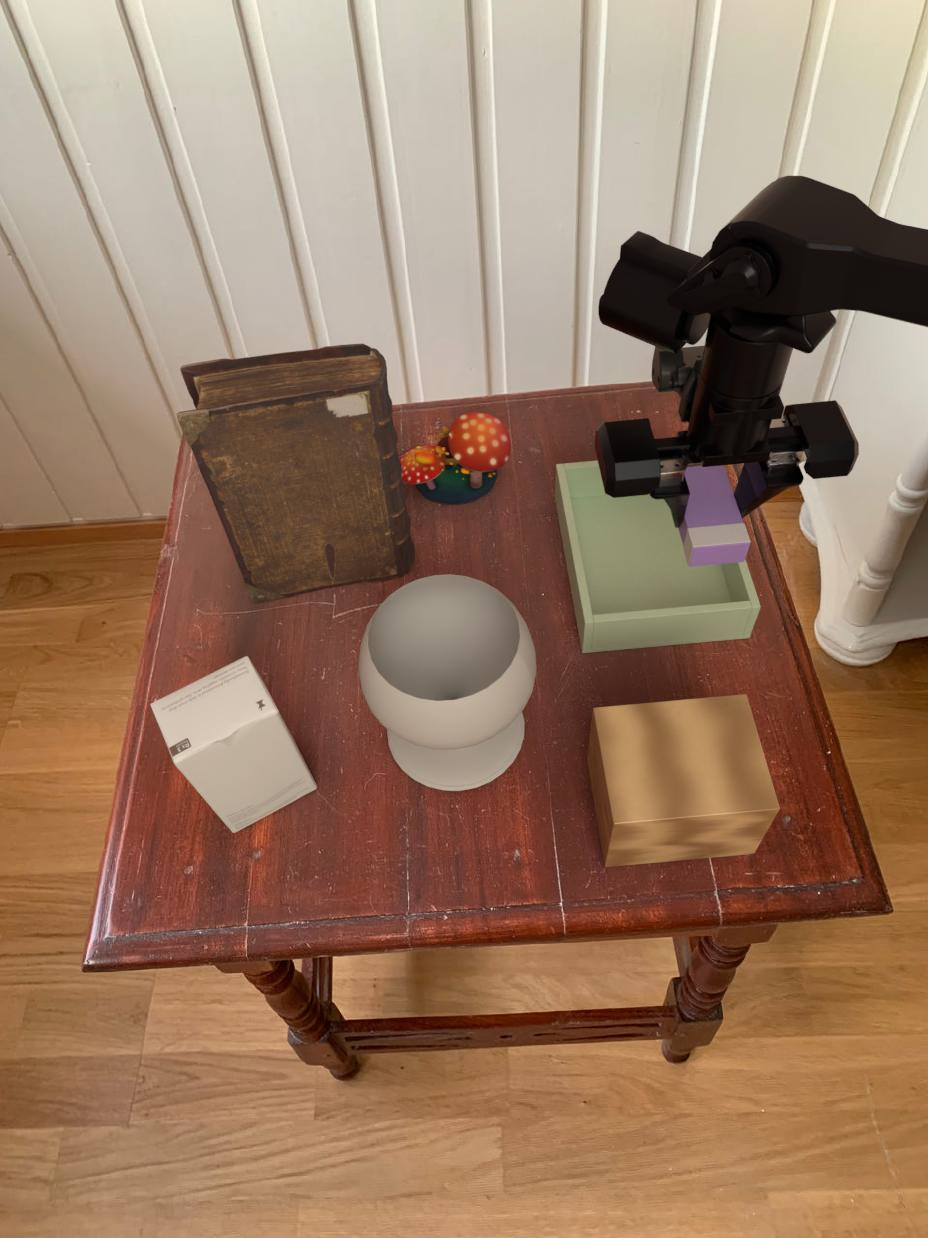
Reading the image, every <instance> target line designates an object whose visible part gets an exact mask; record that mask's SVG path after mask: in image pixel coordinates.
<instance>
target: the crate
mask: <svg viewBox="0 0 928 1238" xmlns="http://www.w3.org/2000/svg"><path fill="white" fill-rule="evenodd" d="M586 763H587V770H588V775H589V782H590V787H591V793H592V800H593V805H594V811H595V812H594V813H595V818H596V824H597V831H598V835H599V841H600V847H601V853H602V860H603V866H604V867H605V868H612V867H613V868H614V867H624V866H634V865H643V864H644V865H645V864H657V863H668V862H669V863H670V862H679V861H691V860H701V859H711V858H713V859H714V858H723V857H724V858H725V857H735V856H745V855H754V854H755V853H756V851H757V850H758V848H759V847H760V844H761V843H762V841H763V839H764V838H765V836H766V835H767V832H768V830H769V829H770V827H771V825H772V824H773V822H774V821H775V819H776V817H777V815H778V814H779V812H780V810H781V807H780V803H779V800H778V797H777V793H776V790H775V787H774V783H773V779H772V776H771V773H770V770H769V766H768V763H767V760H766V756H765V752H764V749H763V746H762V743H761V739H760V735H759V732H758V728H757V725H756V722H755V719H754V714H753V711H752V708H751V704H750V701H749V697H748V694H747V693H742V694H731V695H730V694H729V695H719V696H710V697H709V696H708V697H698V698H686V699H674V700H665V701H653V702H643V703H630V704H620V705H619V704H618V705H609V706H599V707H593V708H592V714H591V722H590V731H589V738H588V746H587V755H586Z"/></svg>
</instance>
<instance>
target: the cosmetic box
mask: <svg viewBox="0 0 928 1238" xmlns="http://www.w3.org/2000/svg"><path fill="white" fill-rule="evenodd" d="M149 705H150V707H151V710H152V712H153V715H154V718H155V720H156V722H157V725H158V728H159V730H160V732H161V735H162V737H163V740H164V742H165V745H166V747H167V750H168V752H169V754H170V757H171V760H172V762H173V764H174V766H175V767H176V768H177V769H178V770H179V772H180V773H181V774H182V775H183V776H184V777H185V779H186V780H187V781H188V782H189V784H190V785H191V786H192V787H193V788H194V789H195V790H196V791H197V793H198V794H199V795H200V797H202V799H203V800H204V801H205V803H206V804H208V806H209V807H210V808H211V809H212V810H213V812H214V813H215V814H216V816H218V817H219V819H220V820H221V821H222V823H224V825H225V826H226V827H227V828H228V830H230V832H231V833H232V834H235V833H238V832H240V831H241V830H243V829H245V828H248V827H249V826H251V825H253V824H254V823H257V822H258V821H260V820H262V819H264V818H266V817H268V816H270V815H271V814H273V813H275V812H277V811H278V810H281V809H283V808H284V807H287V806H289V805H290V804H292V803H294V802H295V801H297V800H299V799H301V798H302V797H304V796H306V795H307V794H309V793H312V792H314V791H315V790H316V791H317V789H318V786H317V782H316V781H315V779H314V777H313V775H312V773H311V770H310V768H309V767H308V764H307V763H306V760H305V759H304V756H303V755H302V753H301V751H300V748H299V746H298V745H297V743H296V741H295V738H294V737H293V735H292V733H291V731H290V729H289V728H288V726H287V723H286V722H285V720H284V719H283V716H282V715H281V712H280V711H279V709H278V707H277V705H276V702H275V700H274V699H273V697H272V695H271V693H270V691H269V689H268V687H267V685H266V683H265V682H264V680H263V678H262V677H261V675H260V673H259V672H258V671H257V669H256V667H255V665H254V664H253V662H252V660H251V659H250V657H249V656H248V655H245V656H243V657H241V658H238V659H237V660H235V661H233V662H231V663H229V664H227V665H225V666H223V667H221V668H219V669H217V670H215V671H213V672H211V673H209V674H207V675H205V676H203V677H201V678H199V679H197V680H195V681H193V682H191V683H189V684H186V685H185V686H183V687H181V688H179V689H177V690H175V691H173V692H171V693H169V694H167V695H165V696H163V697H161V698H159V699H157V700H155V701H153V702H151V703H150V704H149Z"/></svg>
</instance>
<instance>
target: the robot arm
mask: <svg viewBox="0 0 928 1238" xmlns="http://www.w3.org/2000/svg"><path fill="white" fill-rule="evenodd" d="M619 249H620V250H619V259H617V262H616V263H615V265H614V266H613V268H612V271H611V273H610V274H609V276H608V278H607V281H606V285H605V287H604V290H603V294H601V295H600V297H599V300H598V309H597V310H598V318H599V321H600V323H601V324H602V325H603V326H606V327H608V328H611V329H613V330H615V331H618V332H619V333H623V334H625V335H627V336H630V337H632V338H635V339H637V340H638V341H642V342H644V343H646V344H649V345H651V346H654V350H653V356H652V361H651V382H652V384H653V386H654V387H655V389H656V391H657V392H658V393H667V392H675V393H677V394H678V396H679V398H680V400H679V406H678V411H677V412H678V415H679V418H680V421H681V423H688V426H687V430H680V431H677V432H676V436H669V437H659V438H658V437H657V438H655V436H654V433H653V429H652V426H651V422H650V418H649V417H644V418H643V417H642V418H634V419H624V420H623V419H622V420H613V421H604V422H601V424H599V426H598V427H597V428H596V430H595V433H594V451H595V455H596V461H597V460H598V464H599V468H600V473H601V477H602V482H603V486H604V490H605V493H606V494H608V495H609V496H611V497H613V498H618V497H629V496H639V495H648V494H650V496H651V497H652V498H653V499H664V500H665V502H666V503H667V505H668V506H669V508H670V511H671V514H672V518H673V522H674V526H675V528H679V527H680V526H681V524H682V522H683V520H684V517H685V513H686V508H687V504H688V500H689V496H690V491H689V488H688V485H687V481H686V478H685V475H684V474H685V471H686V469H687V468H688V467H694V466H702V467H711V466H722V465H724V466H730V465H742V464H743V465H742V468H741V471H740V474H739V476H738V480H737V483H736V486H735V489H734V491H733V494H734V497H735V500H736V503H737V506H738V509H739V511H740V514H741V517H742V519H744V518H745V517H747V516H748V515H749V514H751V513H752V512H754V511H755V510H756V509H758V508H759V507H760V506H762V505H763V504H765V503H767V502H768V501H769V500H771V499H773V498H775V497H776V496H778V495H780V494H781V493H783V492H785V491H786V490H788V489H790V488H795V487H799V486H801V485H802V484H803V482H804V480H805V478H804V477H805V476H804V475H803V472H802V470H801V467H800V462H801V458H803V454H804V455H805V458H806V459H805V461H804V464H803V469H804V472H805V474H807V475H808V476H809V477H810V478H811V479H812V480H817V479H830V478H838V477H848V476H849V475H850V473H851V472H852V471H853V469H854V467H855V464H856V462H857V459H858V458H859V455H860V451H859V450H860V448H859V447H860V445H859V441H858V439H857V437H856V435H855V432H854V430H853V428H852V425H851V424H850V422H849V420H848V417H847V416H846V414H845V411H844V408H843V407H842V405H840V404H839V402H838V401H837V400H836V399H835V400H824V401H815V402H814V401H813V402H802V403H793V404H785V406H784V402H783V401H782V398H781V396H780V395H781V391H782V388H783V385H784V380H785V377H786V373H787V371H788V367H789V364H790V361H791V358H792V355H793V354H792V353H793V350H795V351H799V352H801V353H804V354H807V355H808V354H811V353H813V352H814V351H815V349H816V348H817V347H818V346H819V345H820V344H821V342H822V341H823V340H824V339H825V338H826V337H827V336H828V334H829V333H830V332H831V331H832V329H834V327H835V326H836V325H837V318H836V316H835V315H834V314H833V311H839V310H842V311H843V310H844V311H854V312H863V313H867V314H872V315H875V316H878V317H879V316H880V317H884V318H888V319H891V320H892V319H893V320H896V321H900V322H904V323H909V324H912V325H917V326H920V327H925V328H928V228H922V227H919V226H918V227H917V226H912V225H907V224H903V223H898V222H896V221H893V220H890V219H889V218H885V217H883V216H880V215H879V214H877V213H876V212H875V211H874V210H873V209H871V207H870V206H868V205H867V204H866V203H865V202H864V201H862V199H860V198H859V197H858V195H856V194H854V193H851V192H848V191H847V190H844V189H841V188H838V187H835V186H833V185H830V184H827V183H825V182H822V181H819V180H816V179H813V178H812V177H808V176H804V175H784V176H780V177H778V178H776V179H775V180H773V181H772V182H770V183H769V184H768V185H767V186H765V187H764V188H762V190H761V191H759V192H758V193H757V194H756V195H755V196H754V197H753V198H752V199H751V200H750V201H749V202H748V203H746V205H745V206H744V207H742V209H741V210H739V212H737V214H735V216H734V217H732V218H731V220H729V221H728V222H727V223H726V224H725V225H724V226H723V227H722V228H721V229H720V230H719V231H718V232H717V235H716V236H715V238H714V240H713V241H712V243H711V247H710V249H709V250H708V251H707V252H706V253H705V254H704V255H703V256H700V255H697V254H695V253H692V252H689V251H686V250H684V249H681V248H678V247H676V246H673V245H671V244H668V243H665V242H662V241H661V240H659V239H658V238H656V237H655V236H653V235H651V234H648V233H645V232H642V231H640V230H637V231H636V232H634V233H633V234H632V235H631V236H629V238H628V239H626V240H625V241H624V242H623V243H622V244H621V245H620V248H619ZM705 334H706V336H705V340H704V345H696V344H697V343H698V342H699V341H700V340H701V339H702V338H703V337H704V335H705ZM686 344H688V345H690V346H686V347H685V345H686ZM694 345H695V346H694Z"/></svg>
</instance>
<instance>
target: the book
mask: <svg viewBox="0 0 928 1238" xmlns="http://www.w3.org/2000/svg"><path fill="white" fill-rule="evenodd" d="M179 371H180V373H181V376H182V379H183V381H184V384H185V387H186V389H187V392H188V395H189V396H190V398H191V400H192V403H193V405H194V408H195V409H189V410H184V411H179V412H177V413H176V417H177V422H178V425H179V427H180V429H181V432H182V434H183V436H184V438H185V440H186V443H187V445H188V447H190V449H191V452H192V454H193V456H194V458H195V461H196V463H197V466H198V467H197V468H198V469H199V472H200V475H201V477H202V479H203V481H204V483H205V485H206V488H207V490H208V492H209V496H210V497H211V501H212V502H213V505H214V508H215V510H216V512H217V515H218V517H219V520H220V522H221V525H222V527H223V530H224V532H225V535H226V538H227V541H228V543H229V545H230V547H231V551H232V552H233V556H234V559H235V562H236V564H237V567H238V568H239V571H240V572H241V575H242V578H243V582H244V585H245V588H246V591H247V593H248V595H249V598H250V600H251V603H259V602H268V601H273V600H274V601H275V600H279V599H285V598H289V597H294V596H297V595H302V594H306V593H310V592H314V591H319V590H323V589H330V588H336V587H340V586H346V585H352V584H359V583H377V582H383V581H389V580H394V579H397V578H401V577H402V576H404V575H405V574H406V573H409V571H411V570H412V568H413V567H414V566H413V565H414V562H415V557H416V556H415V555H416V548H415V547H416V546H415V544H414V541H413V539H412V535H411V517H410V515H409V511H408V510H407V509H408V508H407V493H406V489H405V487H404V482H403V481H402V464H401V462H400V459H401V458H400V456H399V450H398V440H399V438H398V433H397V429H396V427H395V426H394V419H393V413H394V411H393V401H392V398H391V396H390V393H389V384H388V367H387V361H386V359H385V356H384V355H383V354H382V353H381V352H380V351H379V350H378V349H377V348H375V347H371V346H369V345H367V344H365V343H350V344H338V345H337V344H336V345H330V346H328V345H327V346H323V347H320V348H313V349H305V350H295V351H286V352H279V353H270V354H263V355H255V356H247V357H240V358H217V359H211V360H205V361H199V362H192V363H189V364H183V365H181V366H180V368H179Z"/></svg>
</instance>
